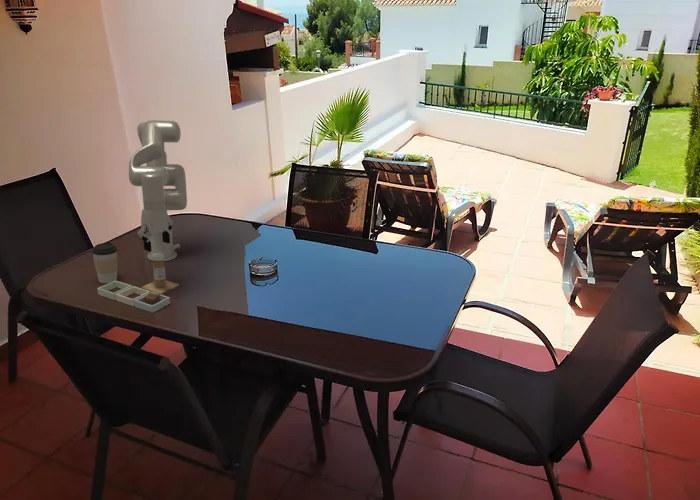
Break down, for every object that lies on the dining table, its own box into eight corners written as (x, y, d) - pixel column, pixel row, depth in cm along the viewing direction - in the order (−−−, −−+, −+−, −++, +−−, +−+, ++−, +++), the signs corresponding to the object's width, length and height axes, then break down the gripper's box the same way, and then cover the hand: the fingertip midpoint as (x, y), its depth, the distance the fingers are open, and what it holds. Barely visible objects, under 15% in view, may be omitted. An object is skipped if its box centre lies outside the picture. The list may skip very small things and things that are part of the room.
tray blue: (152, 298, 197) (152, 291, 196) (170, 303, 194) (169, 297, 193) (135, 306, 190) (134, 300, 189) (152, 312, 186) (152, 306, 185)
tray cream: (134, 292, 201) (133, 286, 200) (150, 297, 197) (150, 291, 196) (116, 300, 193) (115, 294, 192) (133, 306, 190) (132, 299, 189)
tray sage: (116, 286, 204) (115, 280, 203) (132, 291, 201) (131, 285, 200) (98, 294, 197) (97, 288, 196) (114, 300, 194) (113, 293, 193)
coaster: (159, 279, 212) (159, 278, 212) (178, 285, 209) (178, 284, 208) (141, 288, 204) (141, 287, 204) (160, 294, 200) (160, 293, 200)
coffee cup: (110, 285, 204) (107, 250, 199) (90, 282, 206) (86, 247, 201) (124, 276, 213) (121, 242, 207) (104, 273, 214) (101, 239, 209)
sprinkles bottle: (166, 282, 209) (163, 251, 204) (166, 287, 205) (164, 256, 200) (154, 283, 207) (151, 252, 202) (154, 288, 203) (151, 256, 198)
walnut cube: (150, 302, 194) (149, 292, 192) (160, 304, 193) (159, 294, 192) (144, 307, 190) (144, 297, 189) (154, 308, 190) (154, 299, 188)
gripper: (163, 197, 203) (166, 237, 210) (128, 208, 188) (132, 251, 195) (178, 200, 200) (180, 241, 207) (144, 212, 185) (147, 256, 192)
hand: (157, 246), depth 201 cm, fingers open, 9 cm apart
